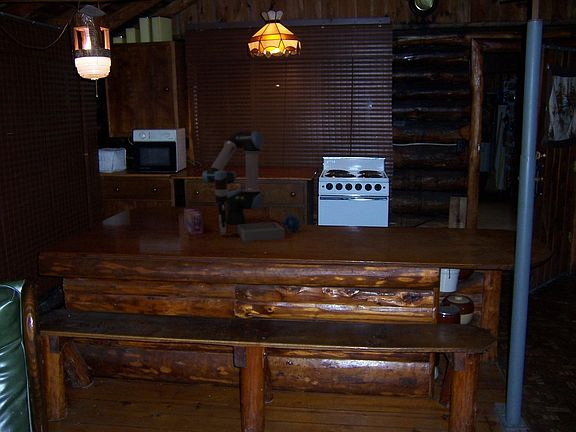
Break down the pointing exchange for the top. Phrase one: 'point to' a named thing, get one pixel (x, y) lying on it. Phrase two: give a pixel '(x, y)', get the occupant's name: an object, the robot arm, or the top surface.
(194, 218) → the gum box
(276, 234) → the box
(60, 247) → the top surface
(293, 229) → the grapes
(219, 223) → the peg
